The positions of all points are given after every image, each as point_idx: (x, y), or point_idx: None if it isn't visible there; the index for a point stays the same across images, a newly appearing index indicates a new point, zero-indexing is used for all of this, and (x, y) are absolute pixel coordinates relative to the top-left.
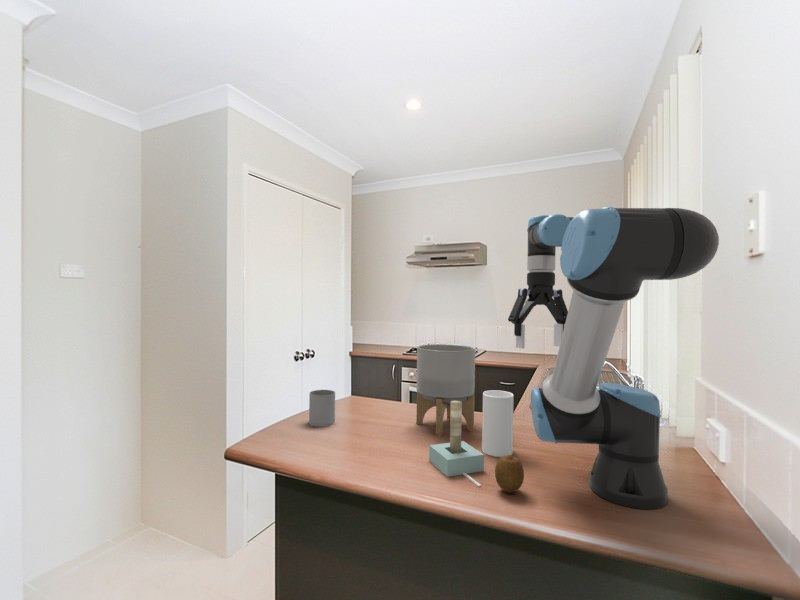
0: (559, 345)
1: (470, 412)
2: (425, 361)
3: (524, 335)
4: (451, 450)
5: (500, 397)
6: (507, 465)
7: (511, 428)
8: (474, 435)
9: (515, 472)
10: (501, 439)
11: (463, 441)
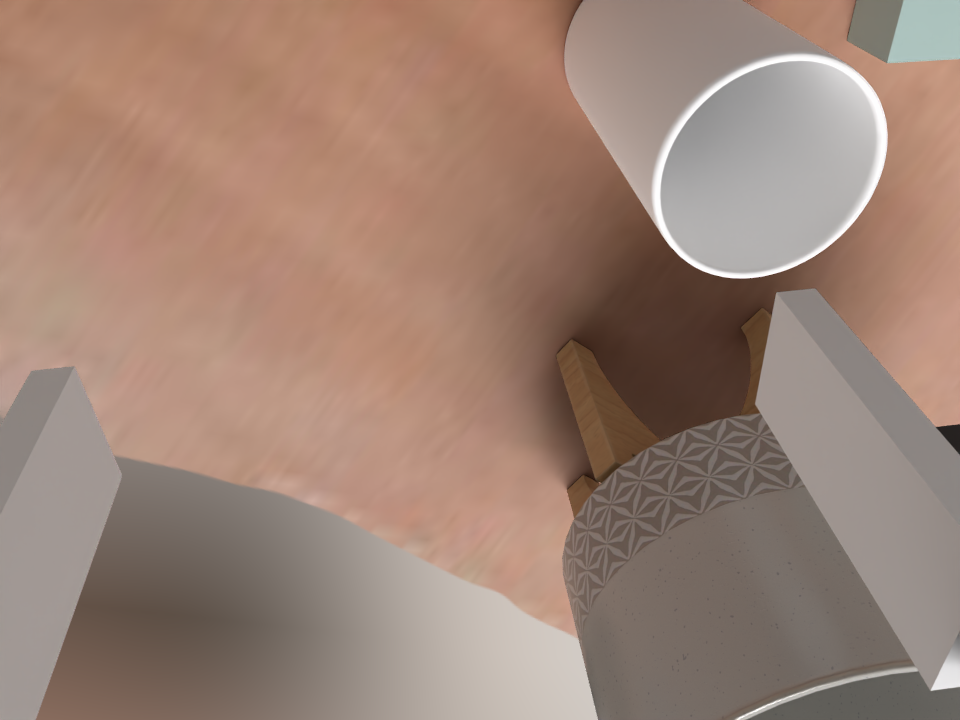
0: (76, 398)
1: (603, 401)
2: None
3: (875, 412)
4: None
5: (844, 64)
6: None
7: (653, 9)
8: (607, 279)
9: None
10: None
11: (892, 55)
